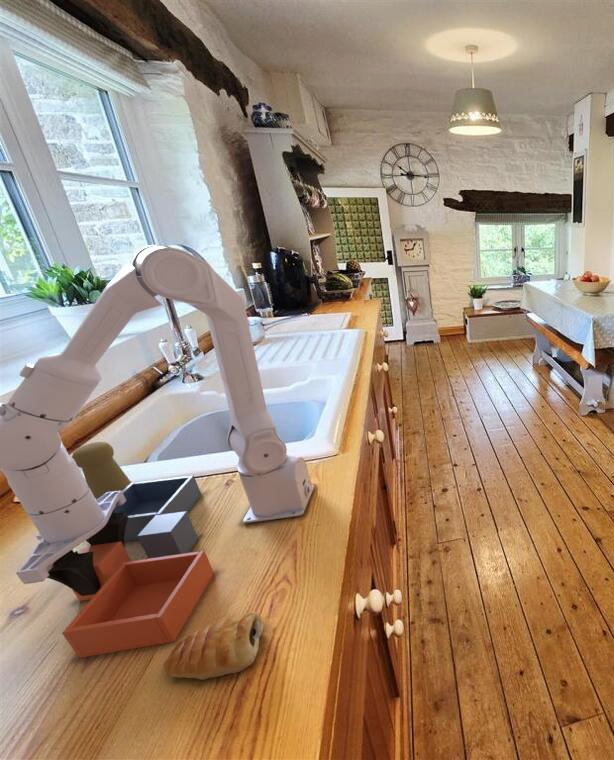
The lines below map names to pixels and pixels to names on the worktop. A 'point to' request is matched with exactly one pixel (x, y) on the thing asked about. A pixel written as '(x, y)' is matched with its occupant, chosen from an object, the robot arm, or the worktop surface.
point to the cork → (100, 468)
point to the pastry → (217, 648)
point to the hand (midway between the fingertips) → (104, 577)
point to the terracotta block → (105, 561)
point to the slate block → (168, 535)
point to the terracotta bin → (140, 604)
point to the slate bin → (156, 501)
